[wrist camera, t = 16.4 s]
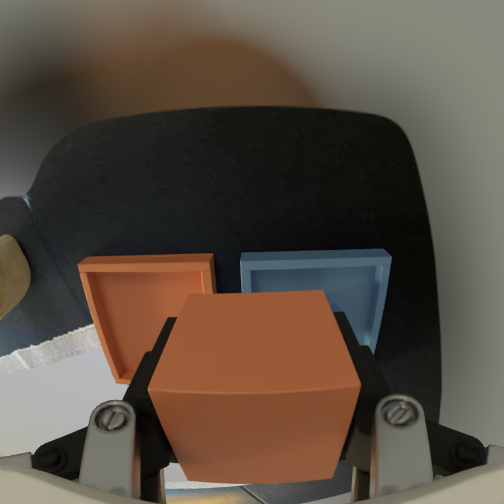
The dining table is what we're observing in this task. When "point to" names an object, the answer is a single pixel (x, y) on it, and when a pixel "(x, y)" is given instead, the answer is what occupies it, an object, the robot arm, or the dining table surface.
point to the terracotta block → (256, 388)
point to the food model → (12, 274)
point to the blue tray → (327, 281)
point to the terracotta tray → (140, 300)
